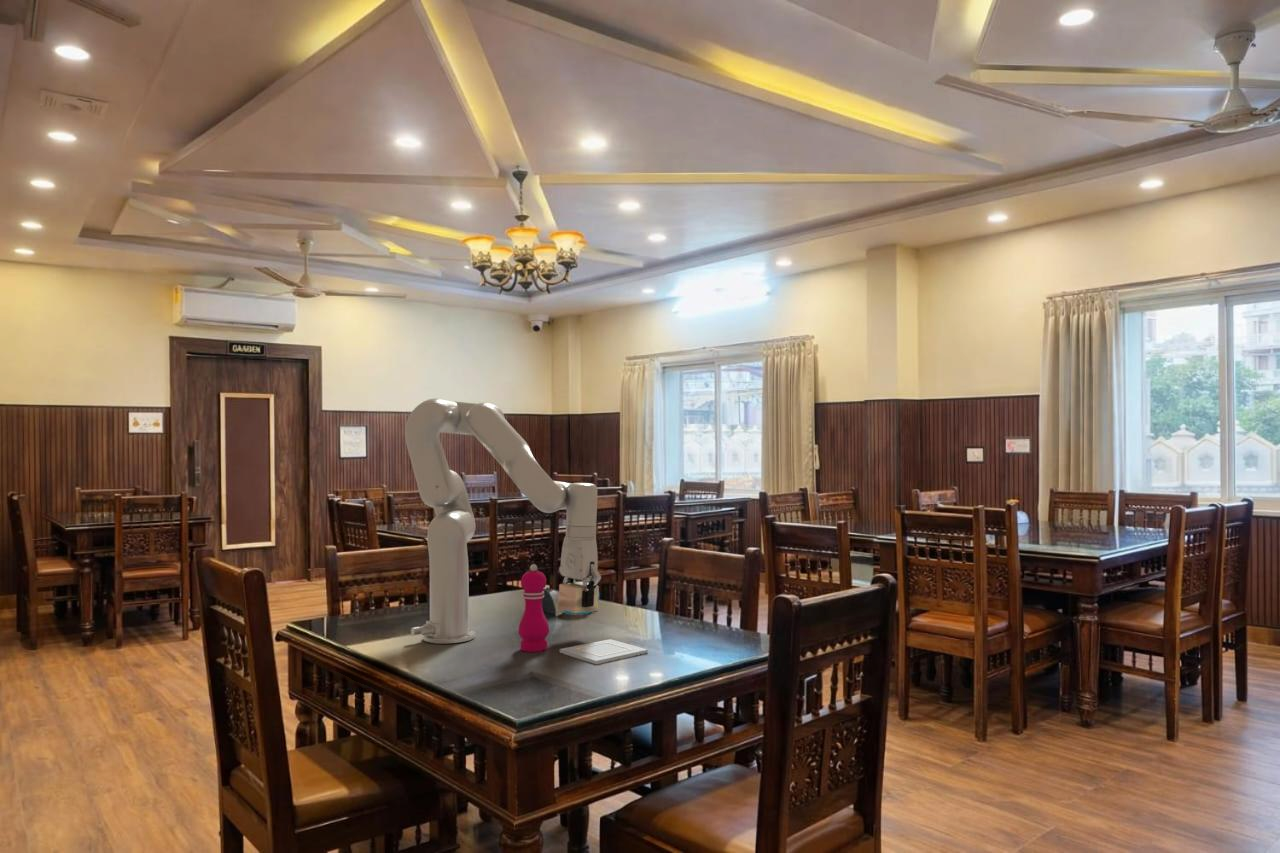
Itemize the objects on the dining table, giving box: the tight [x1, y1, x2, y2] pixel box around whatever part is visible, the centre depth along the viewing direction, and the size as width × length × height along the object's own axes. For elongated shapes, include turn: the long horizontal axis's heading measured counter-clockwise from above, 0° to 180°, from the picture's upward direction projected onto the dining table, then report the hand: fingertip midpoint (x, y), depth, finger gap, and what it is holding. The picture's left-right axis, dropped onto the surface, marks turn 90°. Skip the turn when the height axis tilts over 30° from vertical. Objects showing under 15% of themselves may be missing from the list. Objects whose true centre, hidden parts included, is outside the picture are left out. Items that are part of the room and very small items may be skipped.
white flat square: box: [559, 638, 649, 665], centre depth 196 cm, size 15×14×1 cm
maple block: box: [558, 581, 600, 613], centre depth 211 cm, size 7×7×6 cm
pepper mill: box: [518, 563, 550, 653], centre depth 200 cm, size 7×7×20 cm
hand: (578, 603), depth 211 cm, fingers closed on maple block, 7 cm apart
